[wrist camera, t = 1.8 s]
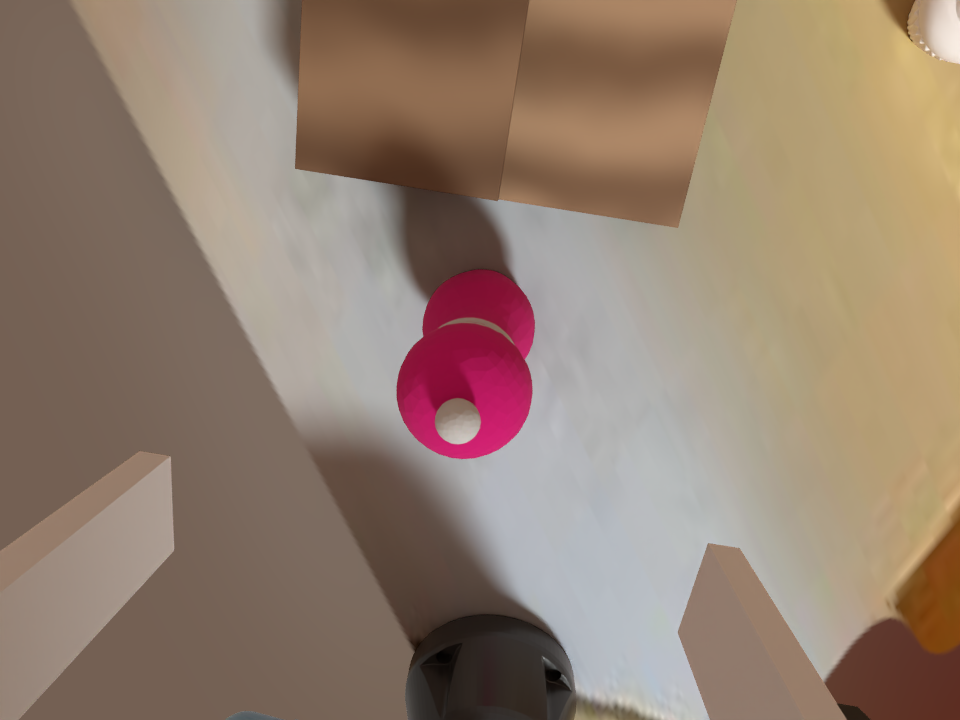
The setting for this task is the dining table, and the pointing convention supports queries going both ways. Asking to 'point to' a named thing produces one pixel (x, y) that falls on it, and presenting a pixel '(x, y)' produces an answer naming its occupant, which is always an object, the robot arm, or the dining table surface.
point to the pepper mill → (469, 367)
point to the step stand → (513, 98)
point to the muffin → (936, 28)
